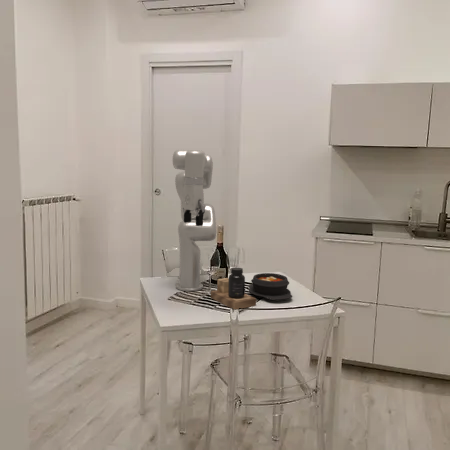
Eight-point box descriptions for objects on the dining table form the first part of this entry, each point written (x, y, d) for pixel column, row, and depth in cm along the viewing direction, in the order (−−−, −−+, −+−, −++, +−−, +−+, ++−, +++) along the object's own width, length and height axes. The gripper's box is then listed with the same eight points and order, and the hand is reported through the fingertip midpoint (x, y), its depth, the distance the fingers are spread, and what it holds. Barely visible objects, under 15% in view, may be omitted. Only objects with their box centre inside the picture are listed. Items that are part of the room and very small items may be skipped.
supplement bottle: (227, 294, 198) (228, 266, 197) (243, 294, 199) (244, 266, 197) (228, 299, 192) (229, 270, 190) (245, 299, 192) (246, 270, 190)
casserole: (302, 301, 202) (303, 282, 200) (263, 305, 195) (264, 286, 193) (274, 286, 224) (275, 269, 223) (239, 289, 217) (239, 271, 216)
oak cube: (217, 290, 204) (217, 279, 203) (226, 288, 206) (227, 277, 206) (223, 293, 200) (223, 282, 199) (233, 291, 202) (233, 280, 202)
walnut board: (210, 297, 203) (210, 290, 203) (231, 294, 209) (231, 287, 209) (234, 309, 188) (234, 302, 188) (255, 305, 194) (256, 298, 194)
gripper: (175, 180, 193) (175, 221, 196) (196, 183, 179) (195, 227, 181) (191, 180, 197) (190, 220, 200) (213, 183, 183) (212, 226, 186)
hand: (193, 224), depth 191 cm, fingers open, 9 cm apart
